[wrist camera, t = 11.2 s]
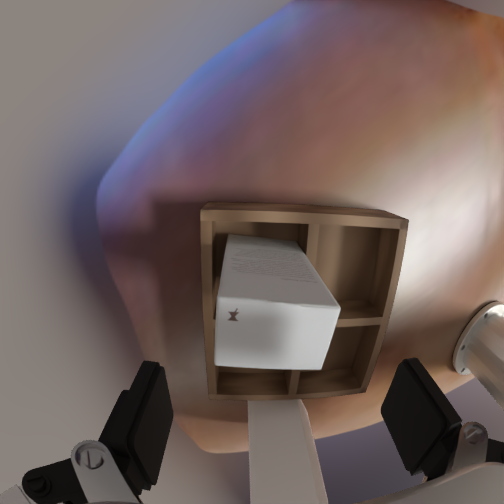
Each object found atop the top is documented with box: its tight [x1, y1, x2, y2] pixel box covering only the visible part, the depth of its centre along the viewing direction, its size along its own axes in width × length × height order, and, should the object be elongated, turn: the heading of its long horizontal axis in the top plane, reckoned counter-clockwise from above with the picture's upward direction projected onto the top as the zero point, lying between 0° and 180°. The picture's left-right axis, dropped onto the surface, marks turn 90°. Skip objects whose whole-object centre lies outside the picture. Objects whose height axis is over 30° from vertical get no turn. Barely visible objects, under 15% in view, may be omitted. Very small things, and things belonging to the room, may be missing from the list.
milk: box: [248, 399, 328, 504], centre depth 21 cm, size 6×6×22 cm
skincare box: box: [214, 234, 341, 370], centre depth 19 cm, size 6×4×12 cm
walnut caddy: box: [200, 202, 409, 401], centre depth 25 cm, size 16×18×4 cm
